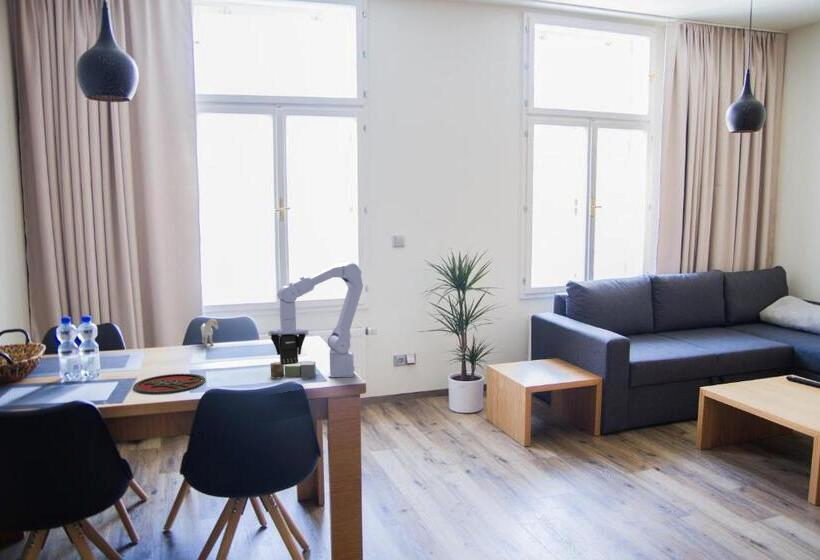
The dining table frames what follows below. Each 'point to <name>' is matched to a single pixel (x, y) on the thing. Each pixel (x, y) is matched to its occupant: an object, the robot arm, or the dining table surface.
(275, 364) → the walnut cylinder
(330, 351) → the robot arm
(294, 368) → the olive block
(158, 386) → the decorative plate
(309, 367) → the charcoal cube
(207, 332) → the unicorn figurine
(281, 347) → the battery
